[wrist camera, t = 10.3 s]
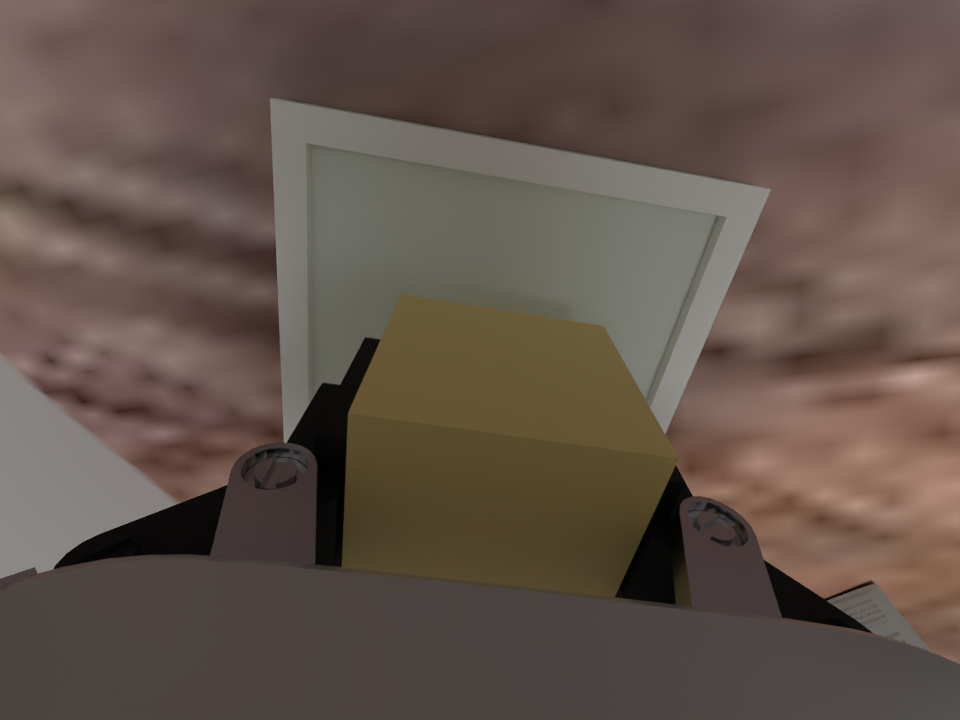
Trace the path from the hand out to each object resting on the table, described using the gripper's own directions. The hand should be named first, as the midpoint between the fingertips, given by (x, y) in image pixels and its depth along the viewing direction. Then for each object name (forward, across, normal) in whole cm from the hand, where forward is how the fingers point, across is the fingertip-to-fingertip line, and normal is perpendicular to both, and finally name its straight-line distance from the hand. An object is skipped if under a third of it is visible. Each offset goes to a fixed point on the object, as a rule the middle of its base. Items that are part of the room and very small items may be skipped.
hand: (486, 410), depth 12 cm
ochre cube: (+1, 0, 0) cm, 1 cm away
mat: (+3, 0, 0) cm, 3 cm away
